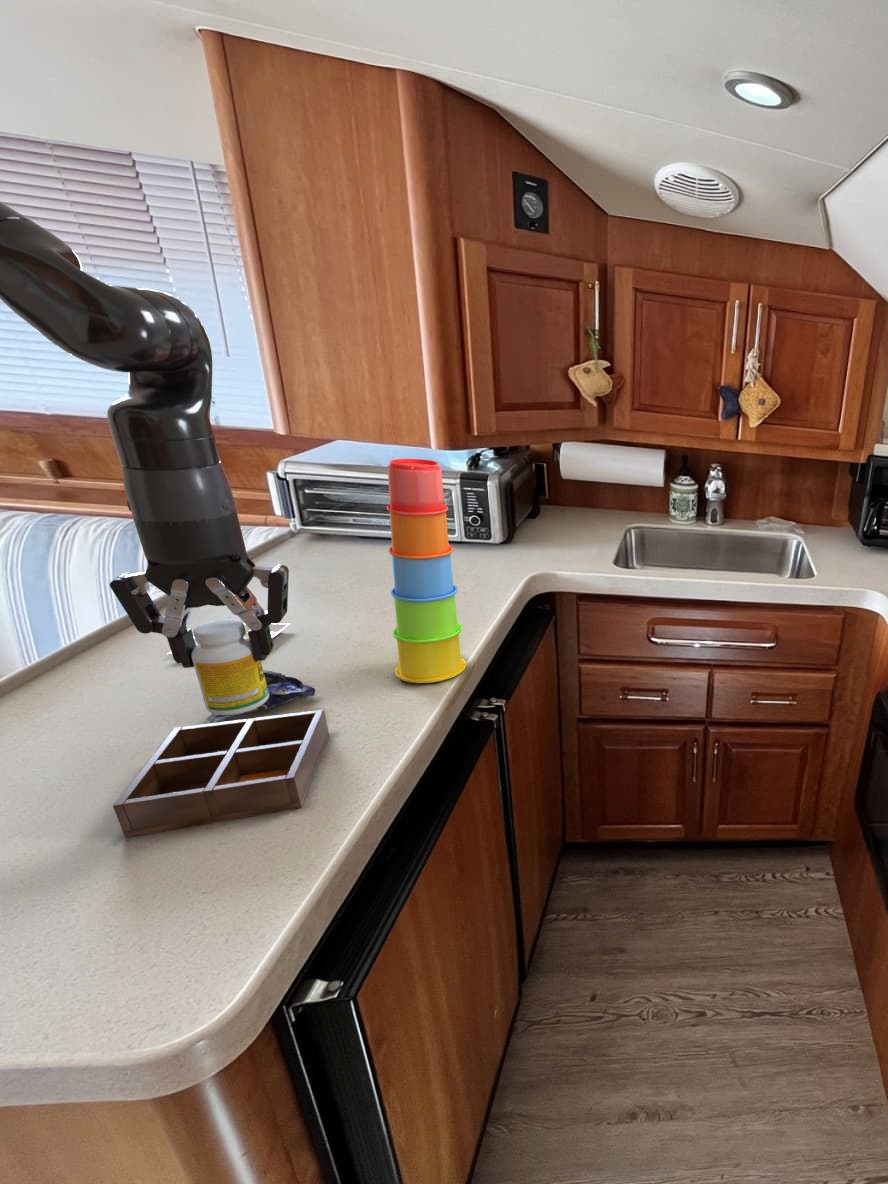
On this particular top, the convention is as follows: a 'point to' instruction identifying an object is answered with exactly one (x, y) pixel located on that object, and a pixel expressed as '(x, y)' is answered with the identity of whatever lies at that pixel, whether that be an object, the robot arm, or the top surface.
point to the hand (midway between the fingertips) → (227, 660)
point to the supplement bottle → (228, 668)
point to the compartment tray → (224, 772)
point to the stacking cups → (422, 574)
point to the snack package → (277, 692)
